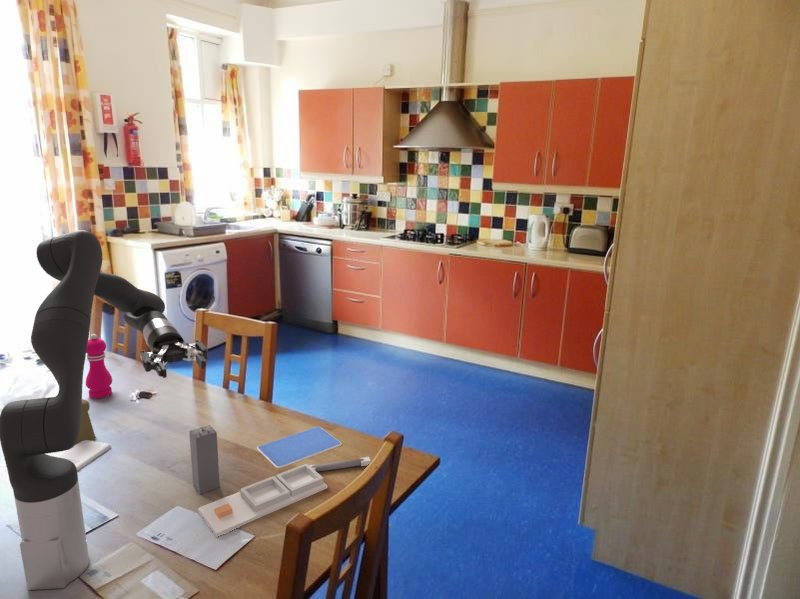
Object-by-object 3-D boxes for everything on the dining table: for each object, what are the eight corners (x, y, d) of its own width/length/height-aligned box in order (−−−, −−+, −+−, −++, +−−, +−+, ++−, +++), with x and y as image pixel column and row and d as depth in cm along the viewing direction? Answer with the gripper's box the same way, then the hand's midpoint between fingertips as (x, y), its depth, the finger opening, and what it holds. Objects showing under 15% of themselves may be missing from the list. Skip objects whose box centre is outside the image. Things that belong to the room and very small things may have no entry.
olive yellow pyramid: (63, 441, 136) (58, 403, 133) (86, 431, 141) (81, 394, 139) (77, 448, 134) (72, 408, 131) (100, 437, 139) (95, 399, 136)
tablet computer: (277, 472, 127) (277, 467, 127) (255, 450, 136) (254, 445, 136) (343, 447, 139) (343, 443, 139) (319, 429, 148) (319, 424, 148)
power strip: (305, 469, 128) (304, 460, 127) (327, 489, 120) (327, 479, 120) (198, 511, 111) (197, 501, 110) (216, 537, 104) (216, 526, 103)
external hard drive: (111, 449, 134) (72, 476, 123) (83, 445, 136) (42, 471, 124) (110, 443, 134) (71, 470, 122) (82, 439, 136) (42, 465, 124)
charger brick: (219, 486, 120) (216, 427, 116) (199, 494, 117) (195, 433, 113) (213, 478, 123) (209, 420, 119) (193, 486, 120) (188, 426, 116)
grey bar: (369, 461, 131) (369, 456, 131) (370, 465, 130) (370, 459, 129) (304, 470, 127) (304, 465, 126) (305, 475, 125) (305, 469, 125)
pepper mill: (88, 391, 165) (80, 331, 160) (114, 388, 168) (107, 329, 163) (86, 401, 159) (78, 338, 154) (113, 397, 162) (106, 336, 157)
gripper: (130, 330, 125) (150, 363, 114) (191, 320, 134) (215, 349, 123) (133, 357, 128) (152, 391, 117) (192, 345, 137) (215, 376, 126)
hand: (184, 369), depth 120 cm, fingers open, 8 cm apart
